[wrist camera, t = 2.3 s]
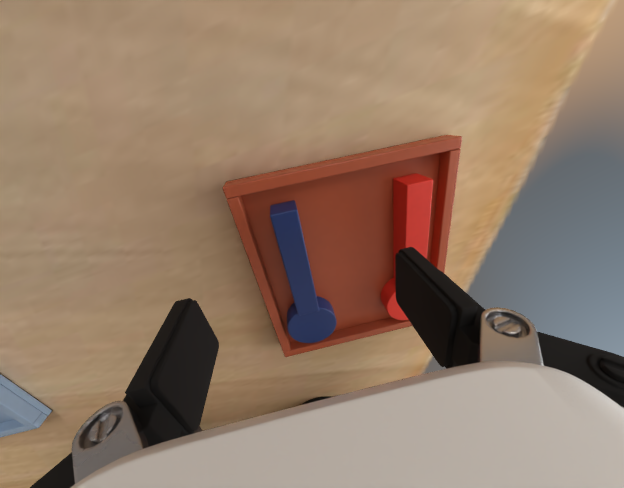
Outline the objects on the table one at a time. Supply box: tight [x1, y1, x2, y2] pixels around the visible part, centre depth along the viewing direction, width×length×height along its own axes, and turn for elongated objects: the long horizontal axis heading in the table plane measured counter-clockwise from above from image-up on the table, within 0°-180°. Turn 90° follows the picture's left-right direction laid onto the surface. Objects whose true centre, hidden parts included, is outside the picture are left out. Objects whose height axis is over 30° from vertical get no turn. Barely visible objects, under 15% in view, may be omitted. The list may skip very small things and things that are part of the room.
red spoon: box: [381, 173, 433, 320], centre depth 15 cm, size 10×3×2 cm, turn 10°
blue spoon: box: [270, 200, 337, 343], centre depth 15 cm, size 10×3×2 cm, turn 10°
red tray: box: [223, 135, 462, 357], centre depth 15 cm, size 13×12×1 cm
